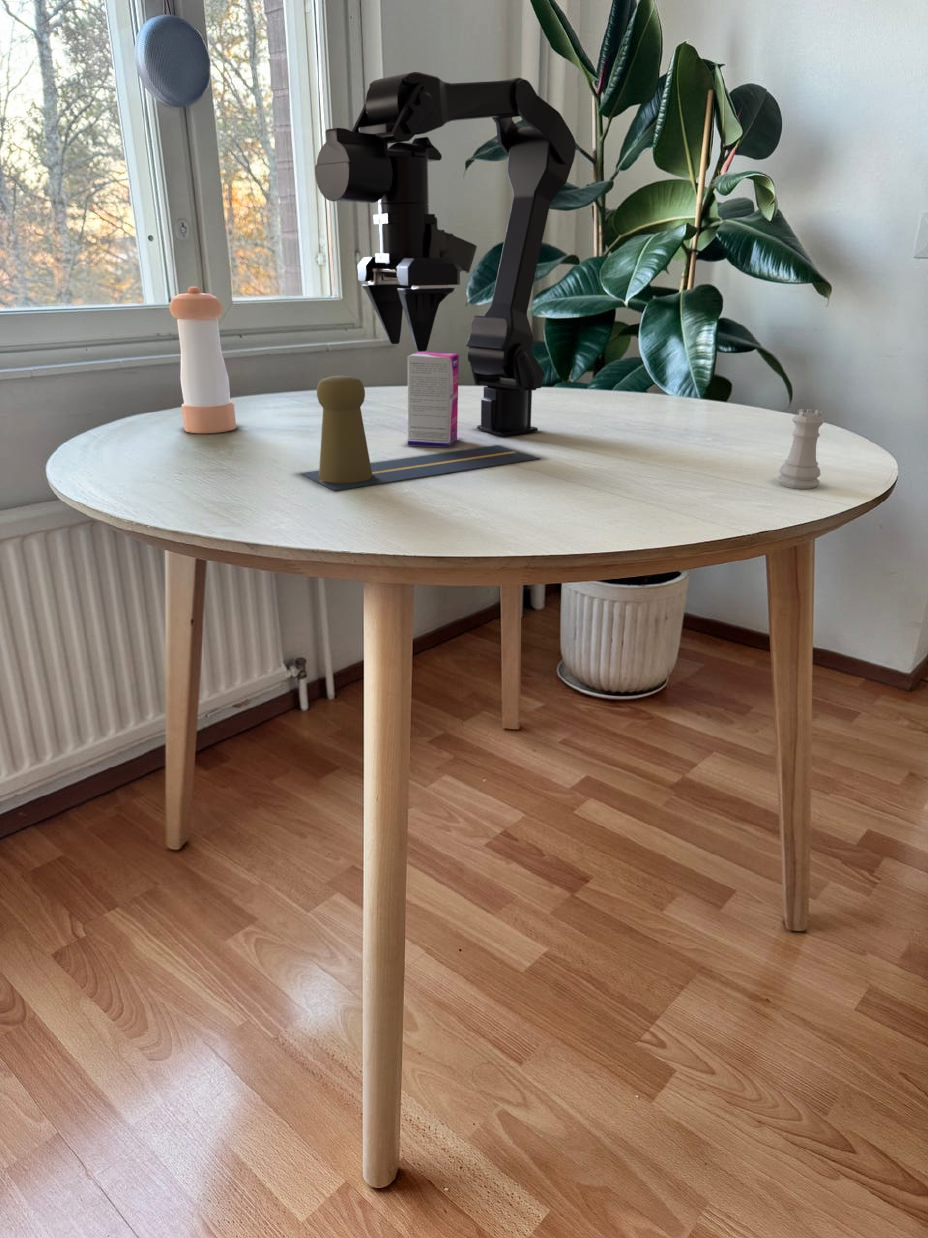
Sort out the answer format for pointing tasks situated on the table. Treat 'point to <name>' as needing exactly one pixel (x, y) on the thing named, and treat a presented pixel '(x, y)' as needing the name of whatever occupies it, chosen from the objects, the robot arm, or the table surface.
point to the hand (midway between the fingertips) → (407, 347)
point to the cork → (343, 431)
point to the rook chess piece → (803, 452)
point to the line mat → (431, 466)
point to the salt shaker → (202, 364)
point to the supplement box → (432, 399)
